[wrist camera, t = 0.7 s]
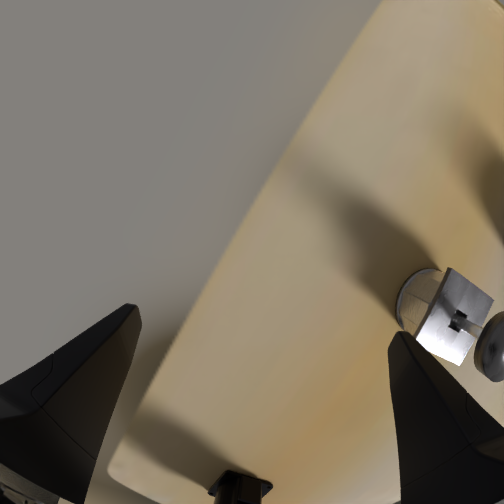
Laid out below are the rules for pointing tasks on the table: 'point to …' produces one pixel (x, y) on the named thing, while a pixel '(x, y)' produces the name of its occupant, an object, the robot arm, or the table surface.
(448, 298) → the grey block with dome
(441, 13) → the table surface
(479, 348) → the plunger
